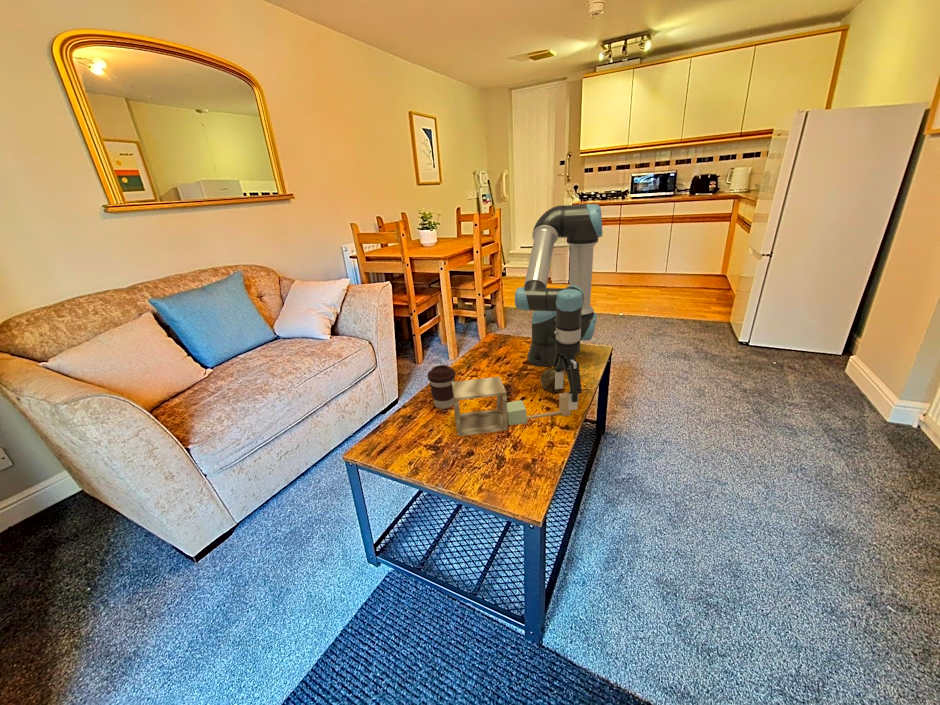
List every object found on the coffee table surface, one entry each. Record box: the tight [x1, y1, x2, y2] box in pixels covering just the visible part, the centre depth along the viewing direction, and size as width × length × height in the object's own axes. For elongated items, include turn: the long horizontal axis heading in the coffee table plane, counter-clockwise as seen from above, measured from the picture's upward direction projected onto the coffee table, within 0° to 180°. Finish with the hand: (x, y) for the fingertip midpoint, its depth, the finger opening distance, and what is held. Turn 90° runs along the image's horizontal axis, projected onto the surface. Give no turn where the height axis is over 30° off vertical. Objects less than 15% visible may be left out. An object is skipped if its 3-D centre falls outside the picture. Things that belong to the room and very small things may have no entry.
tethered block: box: [507, 391, 572, 426], centre depth 131 cm, size 22×6×8 cm, turn 97°
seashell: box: [540, 368, 565, 393], centre depth 150 cm, size 11×9×8 cm
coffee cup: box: [427, 364, 456, 410], centre depth 142 cm, size 10×10×15 cm
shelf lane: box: [452, 376, 508, 437], centre depth 128 cm, size 16×11×15 cm
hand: (565, 398), depth 131 cm, fingers open, 13 cm apart
